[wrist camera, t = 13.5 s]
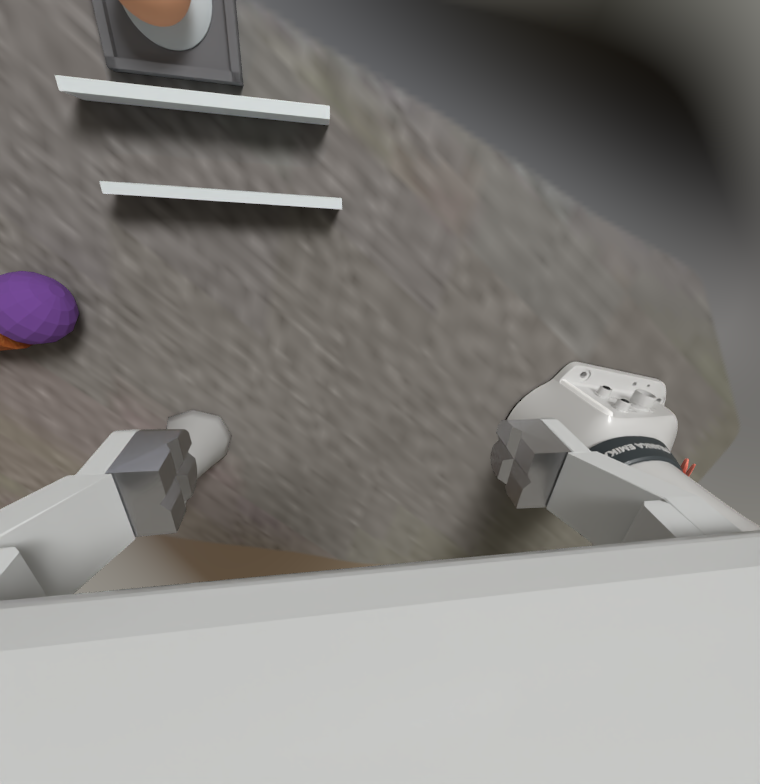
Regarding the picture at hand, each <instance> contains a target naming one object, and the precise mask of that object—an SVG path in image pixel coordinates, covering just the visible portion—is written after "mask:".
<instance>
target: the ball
mask: <svg viewBox="0 0 760 784" xmlns="http://www.w3.org/2000/svg"><path fill="white" fill-rule="evenodd" d="M119 1H120V2H121V4H122V5H123V6H124V7H125V8H126V9H127V10H128V11H129V12H131V13H132V14H133V15H134V16H136V17H137V18H139V19H140V20H142V21H144V22H146V23H148V24H151V25H154V26H159V27H167V26H172V25H175V24H177V23H178V22H180V21H181V20H182V19H183V18H184V16H185V15H186V13H187V11H188V9H189V7H190V3H191V0H119Z"/></svg>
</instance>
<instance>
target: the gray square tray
mask: <svg viewBox="0 0 760 784" xmlns="http://www.w3.org/2000/svg"><path fill="white" fill-rule="evenodd" d="M92 3H93V7H94V12H95V16H96V21H97V25H98V29H99V34H100V38H101V43H102V47H103V51H104V56H105V60H106V65H107V67H108V68H109V69H111V70H113V71H116V72H125V73H133V74H142V75H151V76H159V77H168V78H177V79H185V80H194V81H202V82H211V83H220V84H228V85H237V86H243V78H242V66H241V55H240V44H239V33H238V22H237V11H236V0H191V3H190V7H189V9H188V11H187V13H186V15H185V16H184V18H183V19H182V20H181V21H180V22H178V23H177V24H175V25H172V26H167V27H159V26H154V25H151V24H148V23H146V22H144V21H142V20H140V19H139V18H137V17H136V16H134V15H133V14H132V13H131V12H129V11H128V10H127V9H126V8H125V7H124V6H123V5H122V4H121V2H120V1H119V0H92Z"/></svg>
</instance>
